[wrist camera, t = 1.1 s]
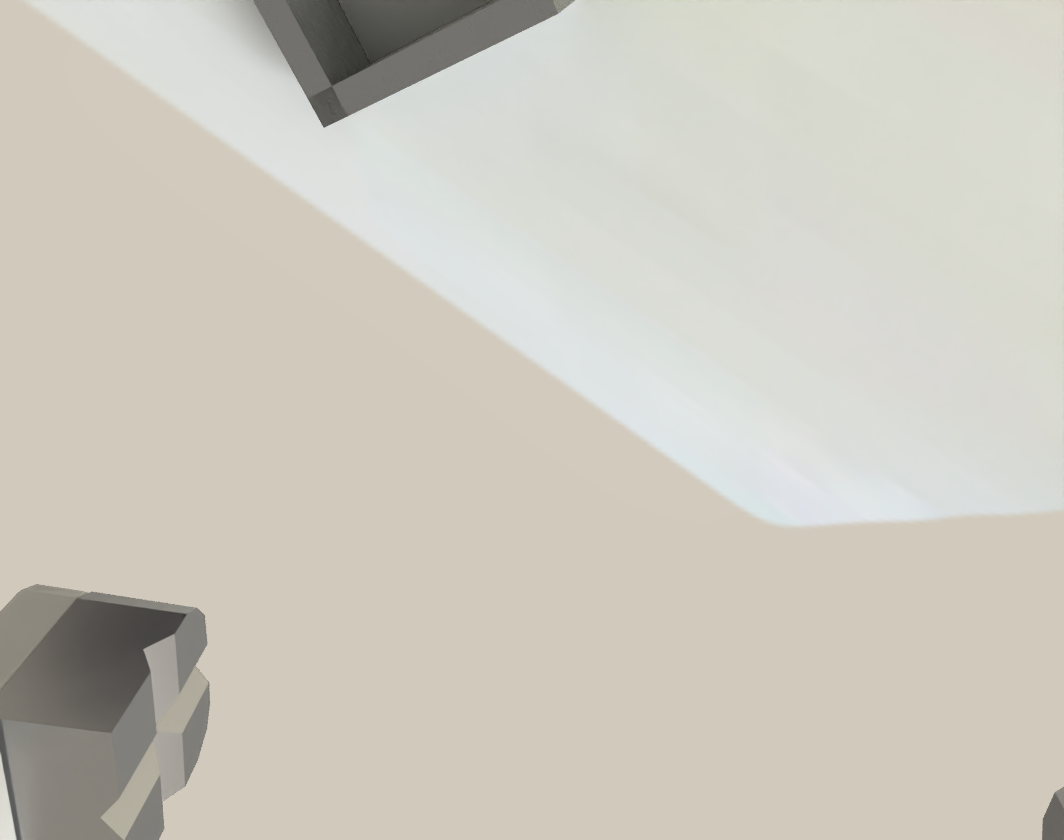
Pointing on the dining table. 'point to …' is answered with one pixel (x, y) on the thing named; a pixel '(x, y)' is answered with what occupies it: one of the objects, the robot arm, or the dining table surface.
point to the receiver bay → (353, 83)
